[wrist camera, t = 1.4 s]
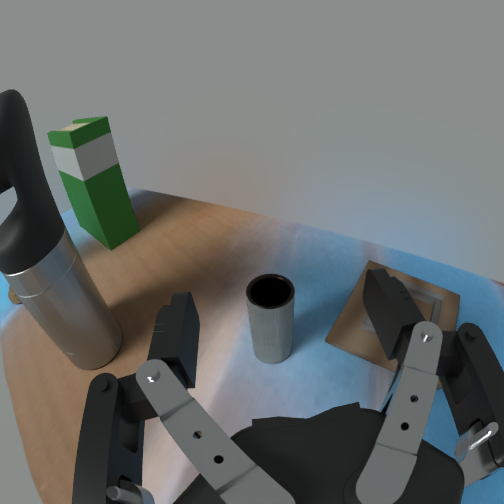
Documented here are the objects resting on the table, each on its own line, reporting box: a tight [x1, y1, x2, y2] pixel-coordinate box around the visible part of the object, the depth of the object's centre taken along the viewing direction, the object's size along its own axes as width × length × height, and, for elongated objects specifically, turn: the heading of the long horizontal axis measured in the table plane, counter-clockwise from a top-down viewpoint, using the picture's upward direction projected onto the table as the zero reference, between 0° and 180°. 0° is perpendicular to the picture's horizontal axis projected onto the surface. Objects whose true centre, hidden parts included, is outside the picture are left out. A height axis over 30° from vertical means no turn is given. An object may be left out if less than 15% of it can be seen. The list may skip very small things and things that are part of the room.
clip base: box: [325, 260, 460, 389], centre depth 33 cm, size 16×16×2 cm
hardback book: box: [47, 116, 140, 250], centre depth 50 cm, size 18×7×24 cm, turn 52°
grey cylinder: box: [246, 274, 295, 364], centre depth 30 cm, size 4×4×10 cm
